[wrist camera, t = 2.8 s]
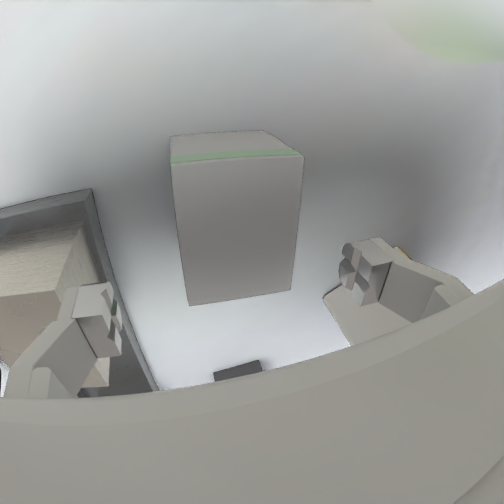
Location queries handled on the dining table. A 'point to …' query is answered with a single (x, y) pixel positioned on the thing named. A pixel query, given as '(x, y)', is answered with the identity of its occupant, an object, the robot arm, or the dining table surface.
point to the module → (235, 213)
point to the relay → (238, 371)
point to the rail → (78, 208)
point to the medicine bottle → (362, 315)
